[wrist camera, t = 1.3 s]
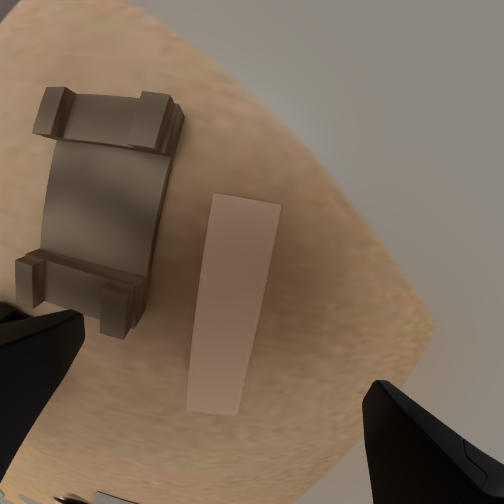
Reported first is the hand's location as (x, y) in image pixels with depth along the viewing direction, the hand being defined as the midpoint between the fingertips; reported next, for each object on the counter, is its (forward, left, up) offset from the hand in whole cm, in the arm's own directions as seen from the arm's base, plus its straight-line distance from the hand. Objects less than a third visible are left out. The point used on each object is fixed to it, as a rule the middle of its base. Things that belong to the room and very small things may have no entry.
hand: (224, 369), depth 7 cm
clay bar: (-2, -1, -13) cm, 13 cm away
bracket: (+2, +9, -13) cm, 16 cm away
